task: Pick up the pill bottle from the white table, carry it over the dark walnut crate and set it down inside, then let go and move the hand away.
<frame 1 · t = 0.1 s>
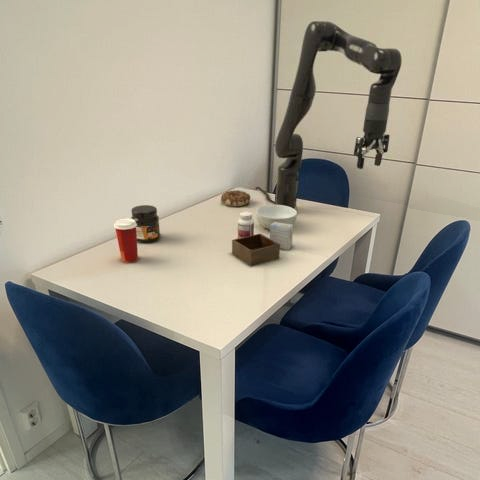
hand: (368, 166, 162), 29 cm above the table, tool pointing down, fingers open, 8 cm apart
pill bottle: (245, 241, 179), on the table
supplement container: (147, 239, 180), on the table
crate: (255, 256, 167), on the table
medicine box: (280, 247, 175), on the table
donut: (235, 203, 219), on the table
paper cup: (129, 259, 163), on the table
cereal bowl: (275, 227, 192), on the table
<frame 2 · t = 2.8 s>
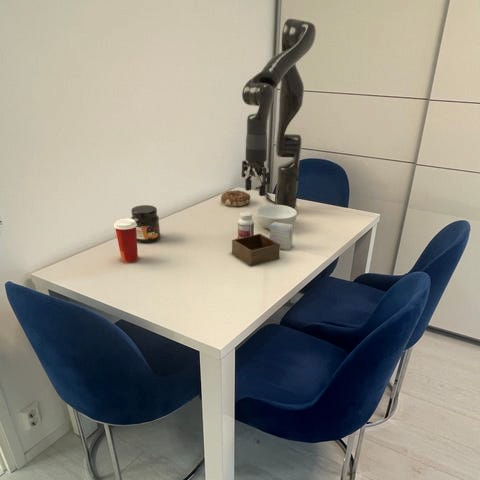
hand: (255, 192, 168), 19 cm above the table, tool pointing down, fingers open, 8 cm apart
nothing on the table moved.
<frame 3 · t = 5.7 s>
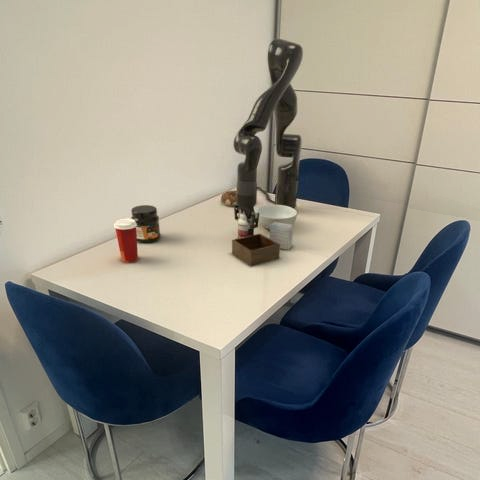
hand: (245, 234, 178), 3 cm above the table, tool pointing down, fingers closed on pill bottle, 6 cm apart
pill bottle: (245, 241, 179), on the table, touching gripper
everything else where it was.
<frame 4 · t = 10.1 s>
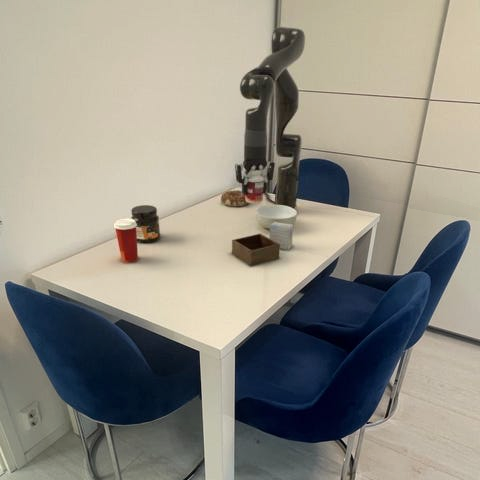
hand: (254, 193, 159), 22 cm above the table, tool pointing down, fingers closed on pill bottle, 6 cm apart
pill bottle: (254, 201, 161), point 19 cm above the table, touching gripper
everything else where it was.
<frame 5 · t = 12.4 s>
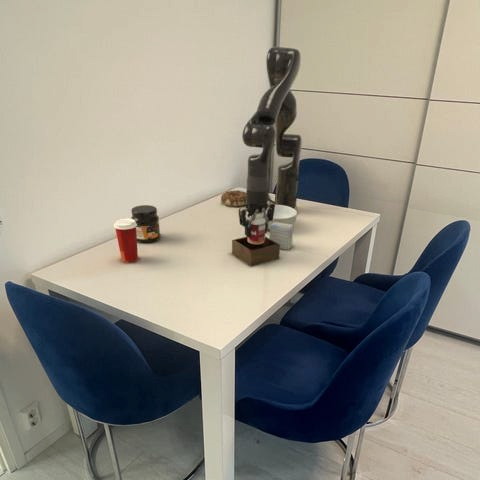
hand: (256, 234, 162), 8 cm above the table, tool pointing down, fingers closed on pill bottle, 6 cm apart
pill bottle: (256, 242, 164), point 5 cm above the table, touching gripper
everything else where it was.
when the fingers open (4 cm above the table, at t = 14.8 s): pill bottle stays where it is, resting on crate.
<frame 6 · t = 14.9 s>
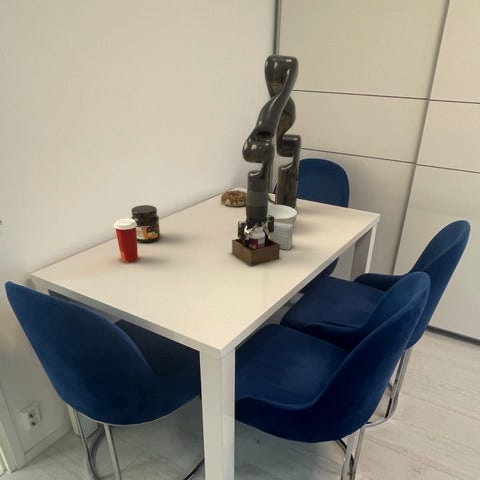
hand: (255, 246, 165), 4 cm above the table, tool pointing down, fingers open, 8 cm apart
pill bottle: (255, 255, 167), resting on crate
everything else where it was.
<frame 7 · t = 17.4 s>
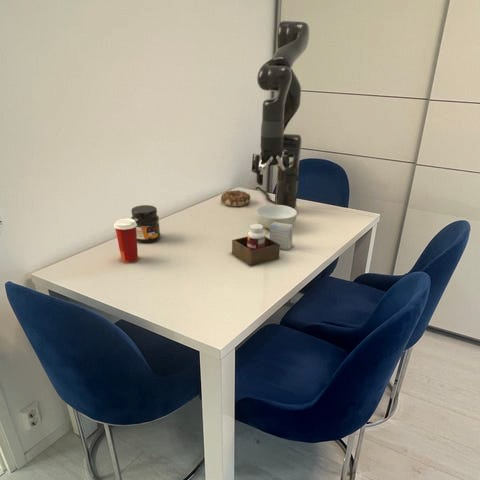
hand: (270, 182, 161), 24 cm above the table, tool pointing down, fingers open, 8 cm apart
nothing on the table moved.
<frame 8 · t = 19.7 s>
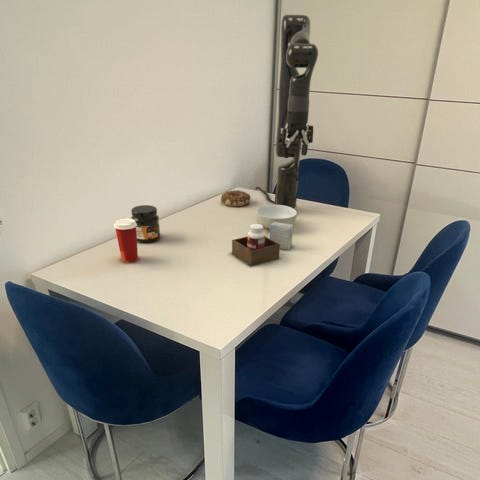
hand: (294, 156, 171), 30 cm above the table, tool pointing down, fingers open, 8 cm apart
nothing on the table moved.
at the end: pill bottle inside the target area in the crate (0.1 cm from its centre), point 0.3 cm above the crate's base; pill bottle tilted 0°; the gripper is holding nothing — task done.
